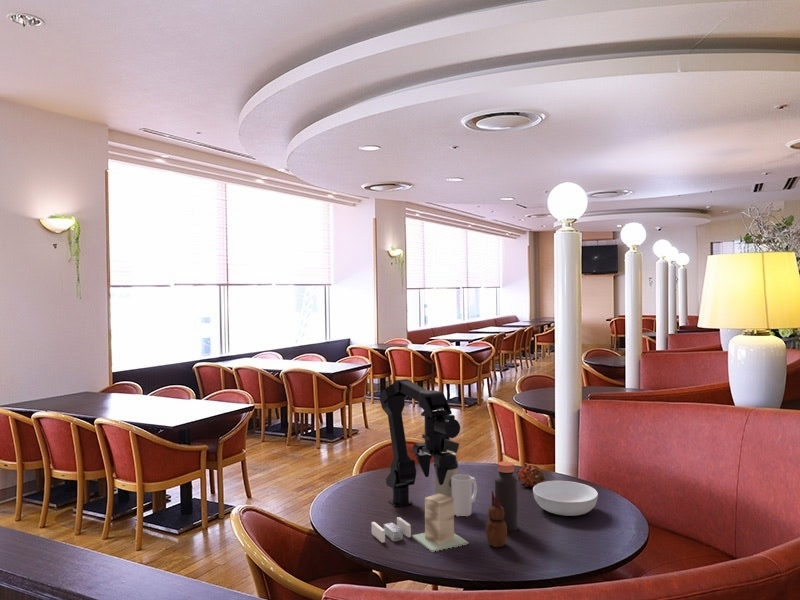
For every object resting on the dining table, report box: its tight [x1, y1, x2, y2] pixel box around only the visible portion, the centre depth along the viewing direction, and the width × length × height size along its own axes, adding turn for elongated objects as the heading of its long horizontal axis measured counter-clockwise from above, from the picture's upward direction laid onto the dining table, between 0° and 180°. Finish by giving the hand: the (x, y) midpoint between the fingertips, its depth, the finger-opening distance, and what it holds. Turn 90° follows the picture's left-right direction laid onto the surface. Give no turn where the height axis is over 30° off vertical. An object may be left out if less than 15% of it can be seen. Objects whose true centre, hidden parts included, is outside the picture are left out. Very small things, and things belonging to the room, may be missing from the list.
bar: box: [383, 522, 404, 542], centre depth 186 cm, size 7×3×3 cm, turn 26°
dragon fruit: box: [516, 464, 546, 488], centre depth 233 cm, size 8×8×12 cm
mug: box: [451, 473, 478, 517], centre depth 206 cm, size 10×7×12 cm, turn 125°
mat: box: [411, 532, 469, 553], centre depth 183 cm, size 12×12×1 cm
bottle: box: [494, 460, 518, 533], centre depth 192 cm, size 7×7×20 cm
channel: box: [371, 516, 412, 544], centre depth 187 cm, size 8×10×4 cm
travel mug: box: [433, 450, 459, 497], centre depth 213 cm, size 8×8×18 cm
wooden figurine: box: [485, 491, 508, 548], centre depth 180 cm, size 7×6×15 cm
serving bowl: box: [532, 480, 599, 517], centre depth 206 cm, size 21×21×7 cm
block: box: [424, 493, 455, 544], centre depth 183 cm, size 6×6×12 cm
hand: (433, 480), depth 198 cm, fingers open, 9 cm apart
